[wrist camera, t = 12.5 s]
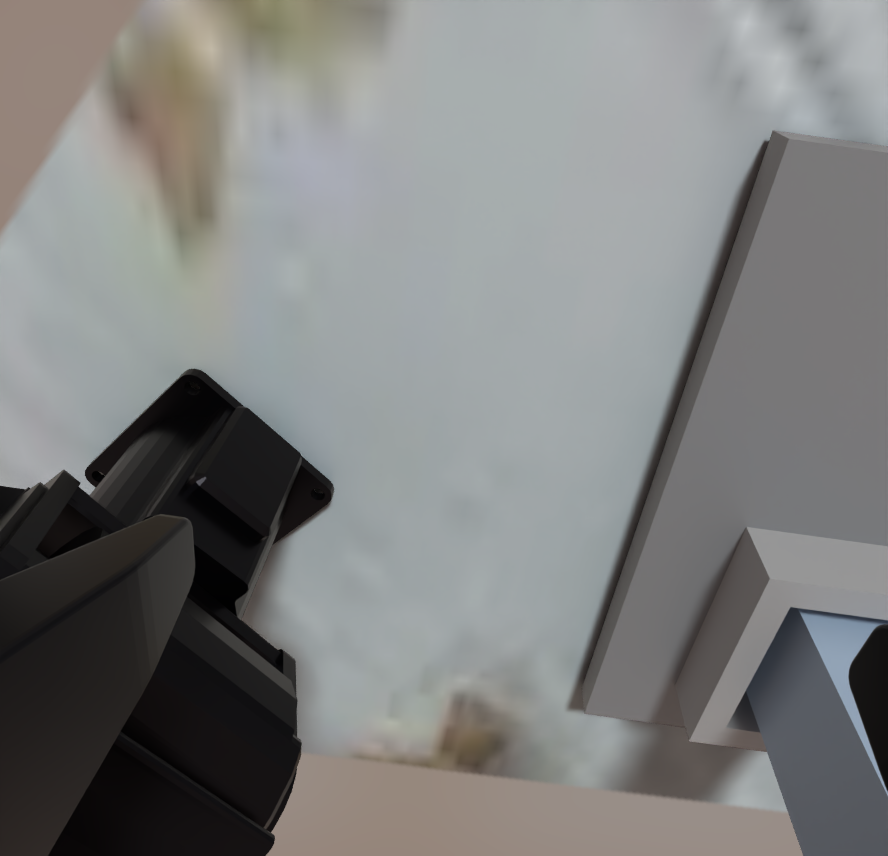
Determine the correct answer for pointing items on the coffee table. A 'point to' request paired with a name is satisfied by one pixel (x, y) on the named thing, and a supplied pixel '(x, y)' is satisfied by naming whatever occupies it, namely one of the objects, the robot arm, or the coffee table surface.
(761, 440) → the plate
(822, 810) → the block
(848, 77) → the coffee table surface
